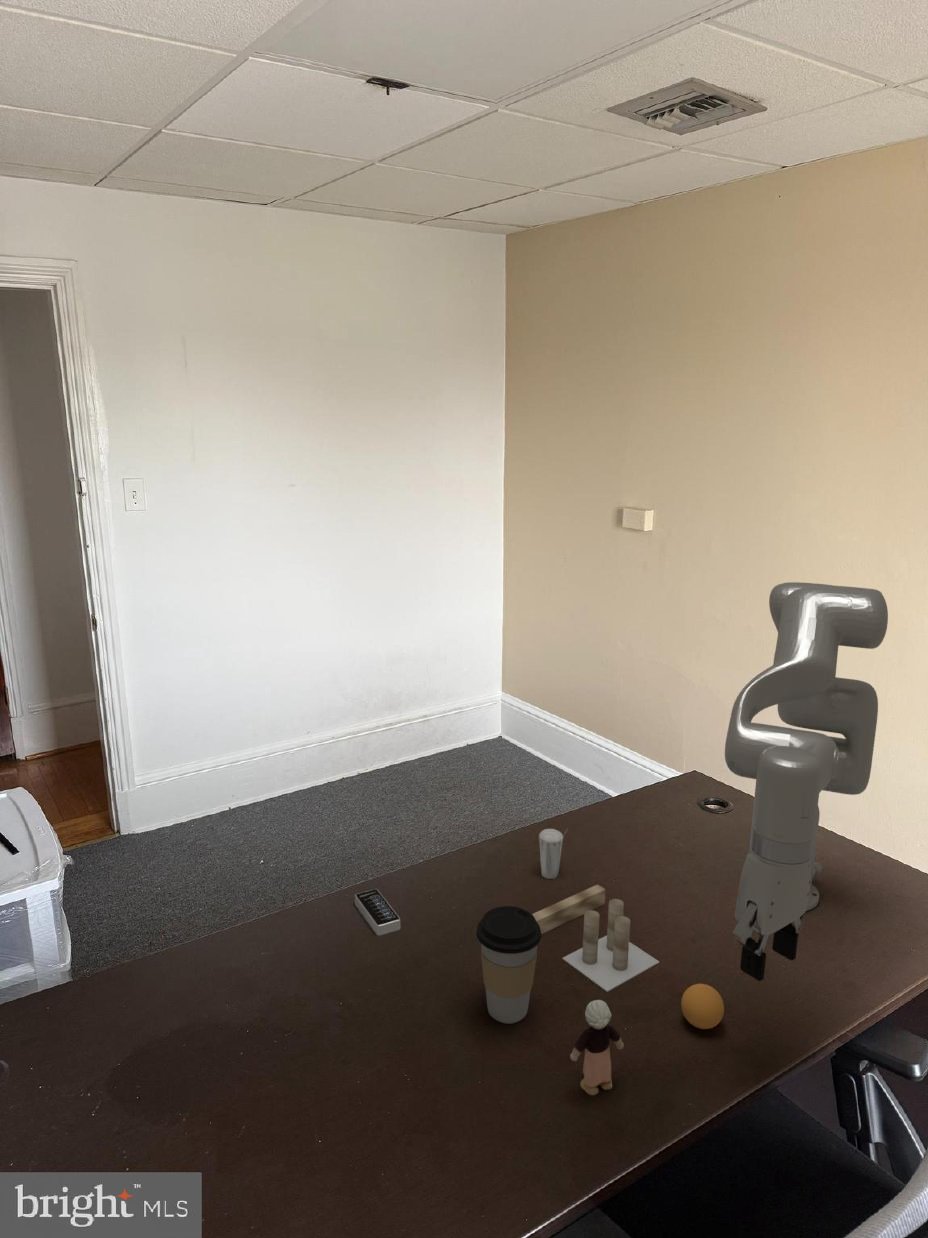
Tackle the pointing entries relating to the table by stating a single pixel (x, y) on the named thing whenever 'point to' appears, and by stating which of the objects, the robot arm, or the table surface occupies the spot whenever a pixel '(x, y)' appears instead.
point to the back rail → (570, 908)
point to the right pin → (613, 920)
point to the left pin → (590, 937)
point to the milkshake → (550, 852)
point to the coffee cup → (508, 960)
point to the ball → (702, 1006)
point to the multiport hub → (377, 912)
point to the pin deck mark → (603, 967)
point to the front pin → (621, 943)
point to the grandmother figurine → (596, 1048)
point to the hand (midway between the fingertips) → (768, 963)
